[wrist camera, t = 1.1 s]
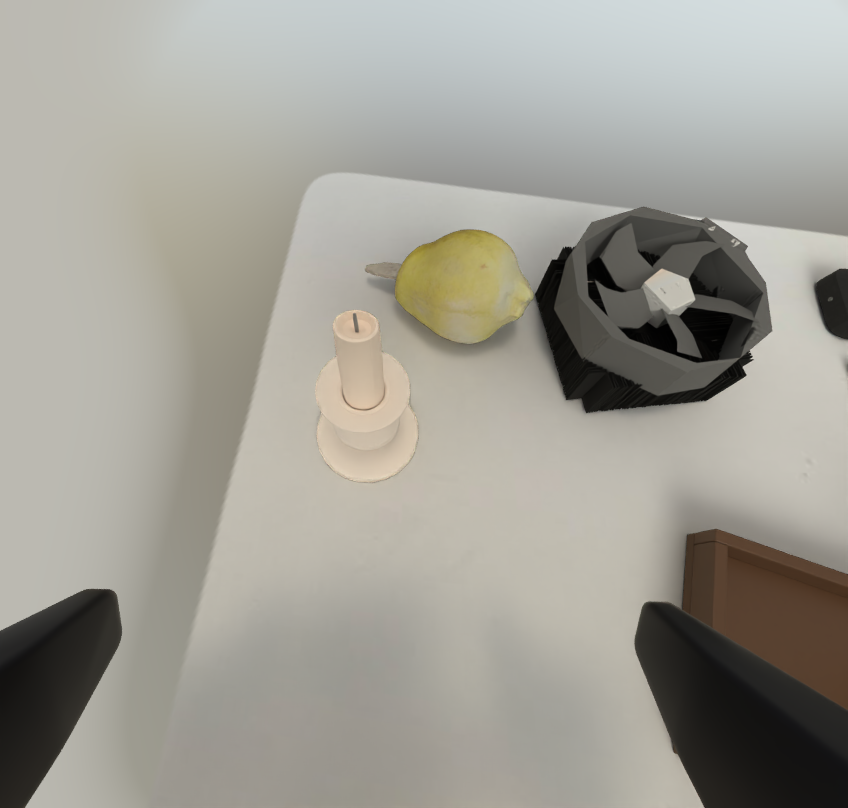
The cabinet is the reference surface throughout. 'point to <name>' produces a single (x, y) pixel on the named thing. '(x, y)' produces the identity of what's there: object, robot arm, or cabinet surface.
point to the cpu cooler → (652, 311)
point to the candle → (364, 404)
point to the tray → (772, 607)
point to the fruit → (460, 285)
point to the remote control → (835, 301)
